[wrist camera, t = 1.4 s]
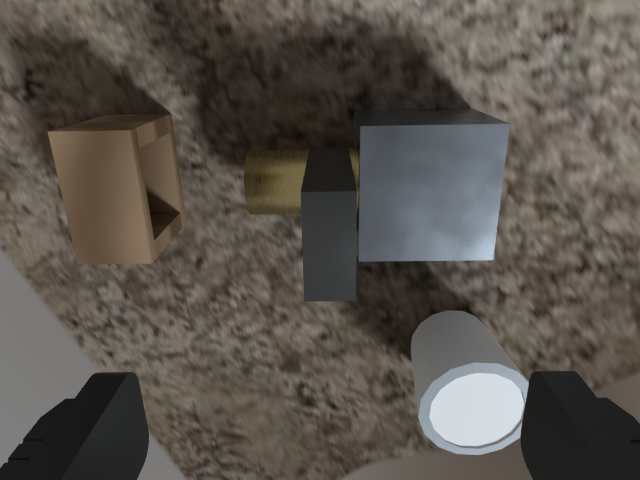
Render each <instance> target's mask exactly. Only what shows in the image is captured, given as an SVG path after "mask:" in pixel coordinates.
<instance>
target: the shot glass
mask: <svg viewBox="0 0 640 480" xmlns="http://www.w3.org/2000/svg"><path fill="white" fill-rule="evenodd" d="M411 358H412V366H413V375H414V384H415V393H416V401H417V410H418V418H419V421H420V423H421V426H422V428H423V431H424V434H425V435H426V436H427V437H428V438H429V439H430V440H432V441H433V442H434V443H435V444H436V445H437V446H438V447H440V448H443V449H446V450H448V451H451V452H454V453H456V454H470V455H471V454H472V455H481V454H485V453H488V452H492V451H496V450H500V449H502V448H504V447H505V446H507V445H509V444H510V443H512V442H513V441H515V440H517V439H518V438H520V437H521V427H522V421H523V415H524V409H525V403H526V397H527V391H528V386H529V382H528V380H527V379H526V378H525V377H524V375H523V374H522V373H521V371H520V370H519V369H518V368H517V366H516V365H515V364H514V363H513V361H512V360H511V359H510V357H509V356H508V355H507V354H506V352H505V351H504V350H503V348H502V347H501V346H500V345H499V343H498V342H497V341H496V339H495V338H494V337H493V336H492V334H491V333H490V332H489V330H488V329H487V328H486V327H485V326H484V325H483V323H482V322H481V321H480V320H479V319H478V318H477V317H476V316H473V315H471V314H469V313H466V312H464V311H452V310H446V311H443V312H440V313H437V314H433V315H431V316H430V317H428V318H427V319H426V320H424V321H423V322H422V323H420V324H419V326H418V327H417V329H416V331H415V332H414V334H413V335H412V341H411Z"/></svg>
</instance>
